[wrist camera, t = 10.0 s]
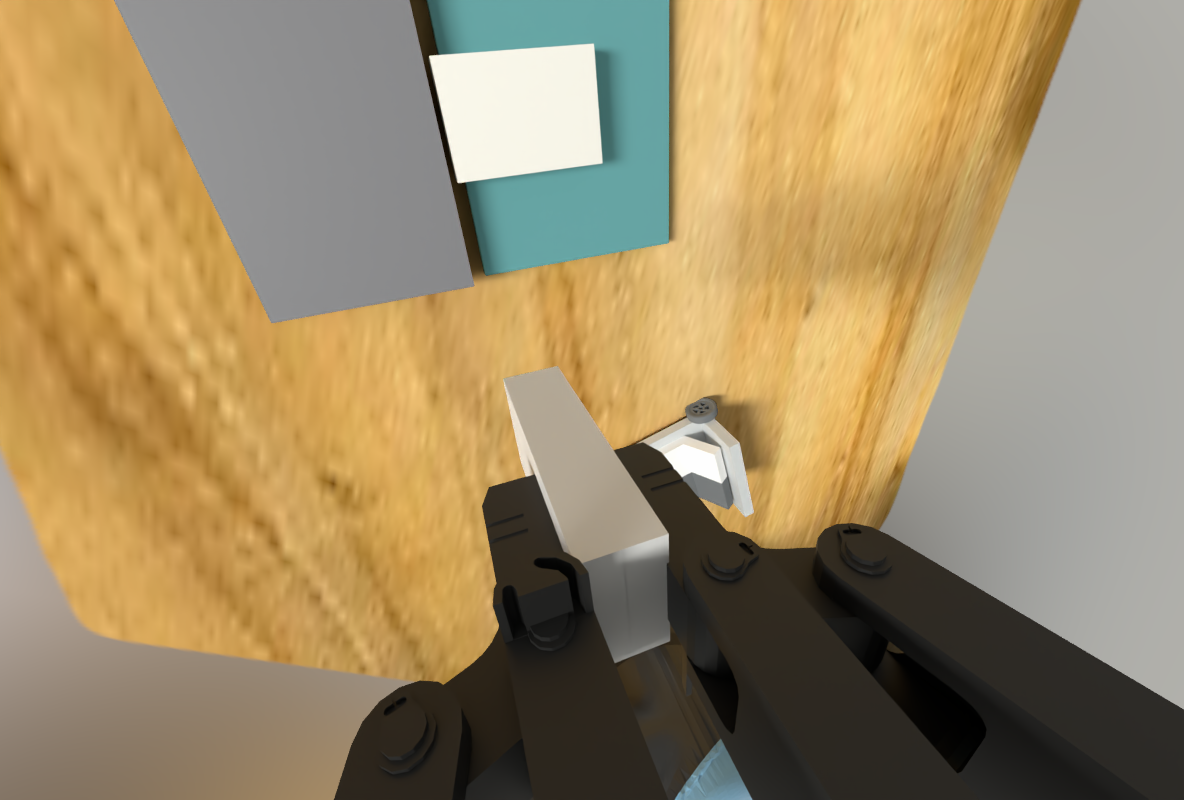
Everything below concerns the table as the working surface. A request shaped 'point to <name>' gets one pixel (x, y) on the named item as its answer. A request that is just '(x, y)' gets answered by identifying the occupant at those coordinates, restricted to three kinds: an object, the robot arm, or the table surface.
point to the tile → (518, 110)
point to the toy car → (706, 456)
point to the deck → (311, 144)
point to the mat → (627, 126)
